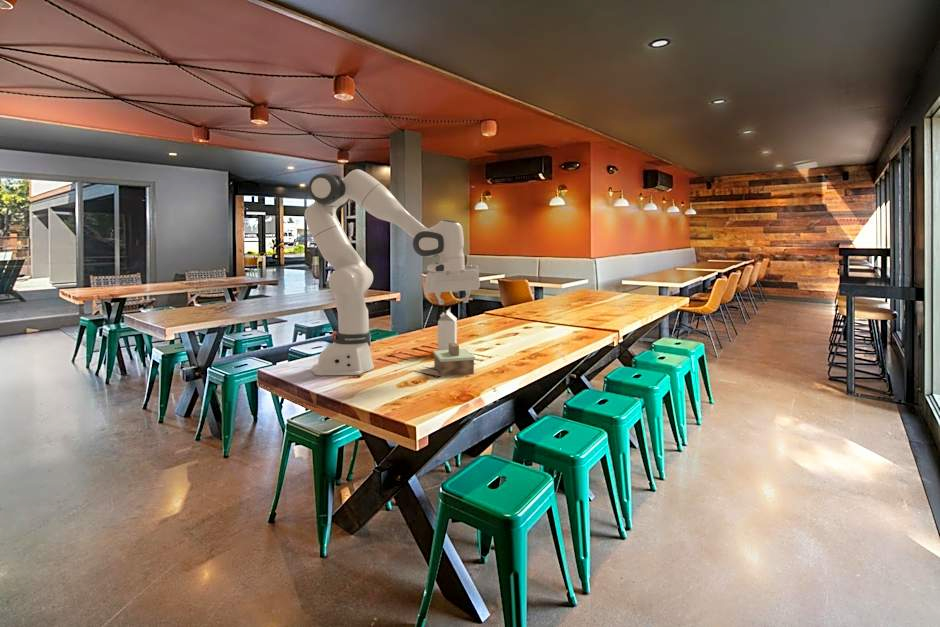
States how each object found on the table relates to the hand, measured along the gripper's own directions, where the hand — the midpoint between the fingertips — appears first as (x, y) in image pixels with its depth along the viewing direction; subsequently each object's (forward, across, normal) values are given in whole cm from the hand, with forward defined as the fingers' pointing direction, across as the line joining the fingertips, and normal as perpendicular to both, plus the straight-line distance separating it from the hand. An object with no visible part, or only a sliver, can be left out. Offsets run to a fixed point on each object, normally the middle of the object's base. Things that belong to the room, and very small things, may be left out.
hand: (453, 303), depth 179 cm
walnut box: (+26, +1, +1) cm, 26 cm away
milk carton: (+26, -5, -25) cm, 36 cm away
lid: (+20, +1, +1) cm, 20 cm away
